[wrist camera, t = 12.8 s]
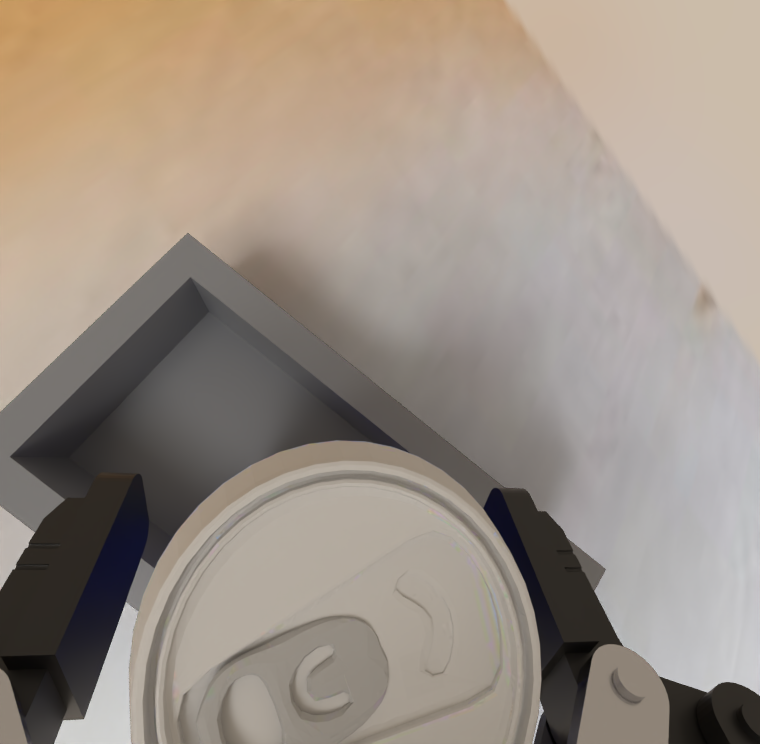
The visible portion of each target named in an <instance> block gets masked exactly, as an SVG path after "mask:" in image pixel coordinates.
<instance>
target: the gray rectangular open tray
mask: <svg viewBox="0 0 760 744" xmlns="http://www.w3.org/2000/svg"><path fill="white" fill-rule="evenodd" d="M335 440H341V441H366V442H371V443H376V444H381V445H386V446H391V447H394V448H397V449H400V450H402V451H405V452H408V453H410V454H413V455H416V456H418V457H420V458H422V459H424V460H425V461H427V462H429V463H431V464H432V465H434V466H436V467H438V468H440V469H441V470H443V471H444V472H445V473H447V474H448V475H449V476H450V477H451V478H453V479H454V480H455V481H456V482H458V483H459V484H460V485H461V486H463V487H464V488H465V489H466V490H467V491H468V493H469V494H470V495H471V496H472V497H473V498H474V499H475V500H476V501H477V502H478V503H479V505H480V506H481V507H482V508H484V505H485V503H486V501H487V498H488V496H489V494H490V492H491V490H492V489H493V488H504V487H503V486H502V485H500V484H499V483H498V482H497V481H495V480H494V479H493V478H492V477H490V476H489V475H488V474H487V473H485V472H484V471H483V470H482V469H481V468H479V467H478V466H477V465H476V464H474V463H473V462H472V461H471V460H469V459H468V458H467V457H466V456H464V455H463V454H462V453H461V452H459V451H458V450H457V449H456V448H454V447H453V446H452V445H451V444H449V443H448V442H447V441H446V440H444V439H443V438H442V437H441V436H440V435H438V434H437V433H436V432H435V431H433V430H432V429H431V428H430V427H428V426H427V425H426V424H425V423H423V422H422V421H421V420H420V419H418V418H417V417H416V416H415V415H413V414H412V413H411V412H410V411H408V410H407V409H406V408H405V407H403V406H402V405H401V404H400V403H399V402H397V401H396V400H395V399H394V398H392V397H391V396H390V395H389V394H387V393H386V392H385V391H384V390H382V389H381V388H380V387H379V386H377V385H376V384H375V383H374V382H372V381H371V380H370V379H369V378H367V377H366V376H365V375H364V374H362V373H361V372H360V371H359V370H358V369H356V368H355V367H354V366H353V365H351V364H350V363H349V362H348V361H346V360H345V359H344V358H343V357H341V356H340V355H339V354H338V353H336V352H335V351H334V350H333V349H331V348H330V347H329V346H328V345H326V344H325V343H324V342H323V341H321V340H320V339H319V338H318V337H317V336H315V335H314V334H313V333H312V332H310V331H309V330H308V329H307V328H305V327H304V326H303V325H302V324H300V323H299V322H298V321H297V320H295V319H294V318H293V317H292V316H290V315H289V314H288V313H287V312H285V311H284V310H283V309H282V308H280V307H279V306H278V305H277V304H276V303H274V302H273V301H272V300H271V299H269V298H268V297H267V296H266V295H264V294H263V293H262V292H261V291H259V290H258V289H257V288H256V287H254V286H253V285H252V284H251V283H249V282H248V281H247V280H246V279H244V278H243V277H242V276H241V275H239V274H238V273H237V272H236V271H235V270H233V269H232V268H231V267H230V266H228V265H227V264H226V263H225V262H223V261H222V260H221V259H220V258H218V257H217V256H216V255H215V254H213V253H212V252H211V251H210V250H208V249H207V248H206V247H205V246H203V245H202V244H201V243H200V242H199V241H197V240H196V239H195V238H194V237H192V236H191V235H190V234H189V233H187V234H186V235H185V236H184V237H183V238H182V239H181V240H180V241H179V242H178V243H177V244H176V245H174V246H173V247H172V248H171V249H170V250H169V251H168V252H167V253H166V254H165V255H164V256H163V257H162V258H161V259H160V260H159V261H158V262H157V263H156V264H155V265H154V266H153V267H151V268H150V269H149V270H148V271H147V272H146V273H145V274H144V275H143V276H142V277H141V278H140V279H139V280H138V281H137V282H136V283H135V284H134V285H133V286H132V287H131V288H130V289H128V290H127V291H126V292H125V293H124V294H123V295H122V296H121V297H120V298H119V299H118V300H117V301H116V302H115V303H114V304H113V305H112V306H111V307H110V308H109V309H108V310H107V311H106V312H104V313H103V314H102V315H101V316H100V317H99V318H98V319H97V320H96V321H95V322H94V323H93V324H92V325H91V326H90V327H89V328H88V329H87V330H86V331H85V332H84V333H83V334H81V335H80V336H79V337H78V338H77V339H76V340H75V341H74V342H73V343H72V344H71V345H70V346H69V347H68V348H67V349H66V350H65V351H64V352H63V353H62V354H61V355H60V356H58V357H57V358H56V359H55V360H54V361H53V362H52V363H51V364H50V365H49V366H48V367H47V368H46V369H45V370H44V371H43V372H42V373H41V374H40V375H39V376H38V377H37V378H35V379H34V380H33V381H32V382H31V383H30V384H29V385H28V386H27V387H26V388H25V389H24V390H23V391H22V392H21V393H20V394H19V395H18V396H17V397H16V398H15V399H14V400H12V401H11V402H10V403H9V404H8V405H7V406H6V407H5V408H4V409H3V410H2V411H1V412H0V506H1V507H3V508H4V509H5V510H7V511H8V512H9V513H11V514H12V515H13V516H14V517H16V518H17V519H18V520H20V521H21V522H22V523H24V524H25V525H26V526H28V527H29V528H30V529H31V530H33V531H34V532H36V530H37V529H38V527H39V525H40V524H41V522H42V520H43V519H44V518H45V517H46V516H47V515H48V514H49V513H50V512H52V511H53V510H54V509H55V508H56V507H57V506H58V505H60V504H61V503H62V502H63V501H64V500H65V499H66V498H85V496H86V495H87V493H88V491H89V489H90V487H91V485H92V483H93V481H94V480H95V478H96V477H97V475H98V474H99V473H101V472H109V473H137V474H140V475H141V476H142V480H143V486H144V492H145V498H146V504H147V510H148V516H149V531H148V537H147V542H146V546H145V549H144V552H143V555H142V557H141V560H140V563H139V566H138V569H137V571H136V574H135V577H134V580H133V583H132V585H131V588H130V591H129V594H128V597H127V599H126V602H127V603H128V604H129V605H131V606H132V607H133V608H135V609H136V610H137V611H139V608H140V605H141V601H142V597H143V594H144V592H145V590H146V587H147V585H148V583H149V580H150V578H151V576H152V574H153V571H154V569H155V567H156V564H157V562H158V560H159V559H160V557H161V556H162V554H163V552H164V551H165V549H166V548H167V546H168V544H169V543H170V541H171V540H172V538H173V536H174V535H175V533H176V531H177V530H178V529H179V528H180V527H181V526H182V524H183V523H184V522H185V521H186V520H187V518H188V517H189V516H190V515H191V514H192V513H193V511H194V510H195V509H196V508H197V507H198V505H199V504H201V503H202V502H203V501H204V500H205V499H206V498H207V497H208V496H210V495H211V494H212V493H213V492H214V491H215V490H216V489H217V488H219V487H220V486H221V485H222V484H223V483H224V482H226V481H227V480H229V479H230V478H232V477H233V476H235V475H236V474H238V473H240V472H241V471H243V470H244V469H246V468H247V467H249V466H250V465H252V464H254V463H257V462H259V461H261V460H263V459H265V458H267V457H270V456H272V455H274V454H276V453H278V452H281V451H285V450H288V449H292V448H295V447H299V446H302V445H306V444H311V443H319V442H327V441H335ZM568 541H569V543H570V545H571V547H572V549H573V554H575V555H576V557H577V559H578V561H579V563H580V565H581V567H582V572H585V574H586V576H587V578H588V580H589V582H590V584H591V586H592V588H593V590H595V588H596V587H597V585H598V583H599V581H600V579H601V577H602V576H603V574H604V572H605V570H606V569H605V568H603V567H602V566H601V565H600V564H599V563H597V562H596V561H595V560H594V559H592V558H591V557H590V556H589V555H587V554H586V553H585V552H584V551H582V550H581V549H580V548H579V547H577V546H576V545H575V544H574V543H572V542H571V541H570V540H569V539H568Z"/></svg>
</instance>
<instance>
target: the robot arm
mask: <svg viewBox="0 0 760 744" xmlns="http://www.w3.org/2000/svg"><path fill="white" fill-rule="evenodd" d="M483 509H484V511H485V512H486V514H487V515H488V517H489V518H490V520H491V521H492V523H493V524H494V526H495V527H496V529H497V530H498V532H499V533H500V535H501V537H502V539H503V540H504V542H505V544H506V545H507V547H508V549H509V550H510V552H511V554H512V556H513V558H514V560H515V562H516V564H517V566H518V569H519V571H520V573H521V575H522V577H523V579H524V581H525V584H526V587H527V590H528V593H529V596H530V600H531V603H532V606H533V609H534V613H535V619H536V624H537V630H538V636H539V642H540V658H541V691H540V701H541V704H542V707H543V710H544V712H543V714H542V715H541V718H540V721H539V725H538V729H537V733H536V737H535V741H534V744H760V696H759V695H758V694H756V693H755V692H753V691H752V690H750V689H748V688H746V687H744V686H742V685H739V684H736V683H730V682H725V683H721V684H718V685H717V686H716V687H715V688H713V689H712V690H711V691H710V692H708V693H707V692H704V691H701V690H698V689H695V688H692V687H689V686H686V685H683V684H680V683H677V682H674V681H671V680H668V679H665V678H662V677H660V676H658V675H657V673H656V672H655V671H654V669H653V668H652V667H651V666H650V665H649V664H648V663H647V662H646V661H645V660H644V659H643V658H642V657H641V656H639V655H638V654H636V653H635V652H634V651H632V650H630V649H628V648H626V647H624V646H623V645H622V643H621V642H620V640H619V639H618V637H617V635H616V633H615V631H614V629H613V627H612V625H611V623H610V621H609V619H608V618H607V616H606V614H605V612H604V610H603V608H602V606H601V604H600V602H599V600H598V598H597V596H596V594H595V592H594V590H593V588H592V586H591V584H590V582H589V580H588V578H587V576H586V574H585V572H582V567H581V565H580V563H579V561H578V559H577V557H576V555H575V554H573V549H572V547H571V545H570V543H569V541H568V539H567V537H566V535H565V533H564V531H563V530H562V528H561V527H560V526H559V525H558V524H557V523H556V522H555V521H554V520H553V519H552V518H551V517H550V516H549V514H548V513H547V512H541V511H537V509H536V507H535V505H534V502H533V500H532V498H531V496H530V494H529V493H528V492H527V491H526V490H525V489H518V488H493V489H492V490H491V492H490V494H489V496H488V498H487V501H486V503H485V505H484V508H483ZM148 531H149V516H148V510H147V504H146V498H145V492H144V486H143V480H142V476H141V475H140V474H137V473H109V472H101V473H99V474H98V475H97V477H96V478H95V480H94V481H93V483H92V485H91V487H90V489H89V491H88V493H87V495H86V496H85V498H66V499H65V500H64V501H63V502H62V503H61V504H60V505H58V506H57V507H56V508H55V509H54V510H53V511H52V512H50V513H49V514H48V515H47V516H46V517H45V518H44V519H43V520H42V522H41V524H40V525H39V527H38V529H37V530H36V532H35V534H34V535H33V537H32V539H31V540H30V542H29V546H28V548H26V549H25V550H24V552H23V554H22V555H21V557H20V559H19V560H18V562H17V564H16V568H15V570H12V572H11V574H10V575H9V577H8V579H7V580H6V582H5V584H4V585H3V587H2V589H1V590H0V744H54V742H55V739H56V737H57V734H58V731H59V729H60V726H61V724H62V721H63V720H78V719H84V717H85V714H86V712H87V709H88V706H89V703H90V700H91V698H92V695H93V692H94V689H95V686H96V684H97V681H98V678H99V675H100V672H101V670H102V667H103V664H104V661H105V658H106V656H107V653H108V650H109V647H110V644H111V642H112V639H113V636H114V633H115V630H116V628H117V625H118V622H119V619H120V616H121V614H122V611H123V608H124V605H125V602H126V599H127V597H128V594H129V591H130V588H131V585H132V583H133V580H134V577H135V574H136V571H137V569H138V566H139V563H140V560H141V557H142V555H143V552H144V549H145V546H146V542H147V537H148Z"/></svg>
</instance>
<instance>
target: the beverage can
mask: <svg viewBox="0 0 760 744" xmlns="http://www.w3.org/2000/svg"><path fill="white" fill-rule="evenodd" d="M540 691H541V658H540V642H539V636H538V630H537V624H536V619H535V613H534V609H533V606H532V603H531V600H530V596H529V593H528V590H527V587H526V584H525V581H524V579H523V577H522V575H521V573H520V571H519V569H518V566H517V564H516V562H515V560H514V558H513V556H512V554H511V552H510V550H509V549H508V547H507V545H506V544H505V542H504V540H503V539H502V537H501V535H500V533H499V532H498V530H497V529H496V527H495V526H494V524H493V523H492V521H491V520H490V518H489V517H488V515H487V514H486V512H485V511H484V509H483V508H482V507H481V506H480V505H479V503H478V502H477V501H476V500H475V499H474V498H473V497H472V496H471V495H470V494H469V493H468V491H467V490H466V489H465V488H464V487H463V486H461V485H460V484H459V483H458V482H456V481H455V480H454V479H453V478H451V477H450V476H449V475H448V474H447V473H445V472H444V471H443V470H441V469H440V468H438V467H436V466H434V465H432V464H431V463H429V462H427V461H425V460H424V459H422V458H420V457H418V456H416V455H413V454H410V453H408V452H405V451H402V450H400V449H397V448H394V447H391V446H386V445H381V444H376V443H371V442H366V441H341V440H335V441H327V442H319V443H311V444H306V445H302V446H299V447H295V448H292V449H288V450H285V451H281V452H278V453H276V454H274V455H272V456H270V457H267V458H265V459H263V460H261V461H259V462H257V463H254V464H252V465H250V466H249V467H247V468H246V469H244V470H243V471H241V472H240V473H238V474H236V475H235V476H233V477H232V478H230V479H229V480H227V481H226V482H224V483H223V484H222V485H221V486H220V487H219V488H217V489H216V490H215V491H214V492H213V493H212V494H211V495H210V496H208V497H207V498H206V499H205V500H204V501H203V502H202V503H201V504H199V505H198V507H197V508H196V509H195V510H194V511H193V513H192V514H191V515H190V516H189V517H188V518H187V520H186V521H185V522H184V523H183V524H182V526H181V527H180V528H179V529H178V530H177V531H176V533H175V535H174V536H173V538H172V540H171V541H170V543H169V544H168V546H167V548H166V549H165V551H164V552H163V554H162V556H161V557H160V559H159V560H158V562H157V564H156V567H155V569H154V571H153V574H152V576H151V578H150V580H149V583H148V585H147V587H146V590H145V592H144V594H143V597H142V601H141V605H140V608H139V612H138V616H137V619H136V623H135V627H134V630H133V638H132V647H131V655H130V663H129V696H130V725H131V742H132V744H532V741H533V737H534V732H535V728H536V723H537V718H538V714H539V702H540Z"/></svg>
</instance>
